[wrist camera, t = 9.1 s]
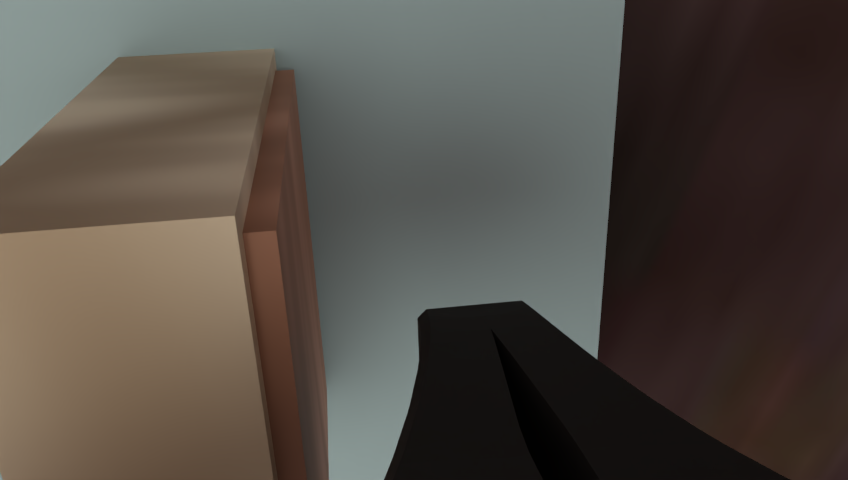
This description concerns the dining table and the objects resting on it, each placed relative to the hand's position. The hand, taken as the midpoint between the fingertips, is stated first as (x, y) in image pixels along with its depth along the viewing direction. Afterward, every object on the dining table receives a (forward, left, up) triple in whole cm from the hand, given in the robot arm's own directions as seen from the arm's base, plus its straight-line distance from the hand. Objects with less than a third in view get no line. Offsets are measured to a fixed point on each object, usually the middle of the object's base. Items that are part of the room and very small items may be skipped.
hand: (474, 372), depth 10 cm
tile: (+4, 0, -5) cm, 6 cm away
